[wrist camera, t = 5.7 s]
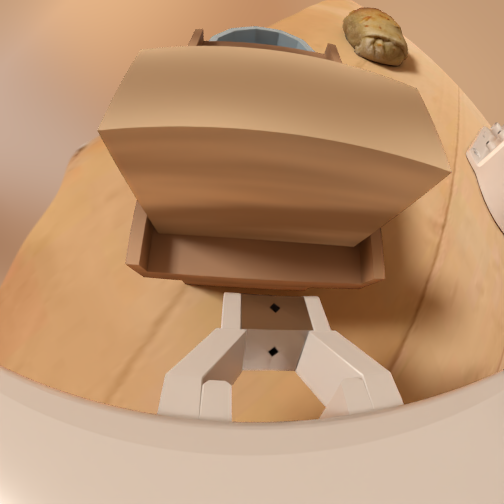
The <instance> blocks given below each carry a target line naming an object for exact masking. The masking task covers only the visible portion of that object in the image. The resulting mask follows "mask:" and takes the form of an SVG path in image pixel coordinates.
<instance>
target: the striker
mask: <svg viewBox="0 0 504 504" xmlns="http://www.w3.org/2000/svg"><path fill="white" fill-rule="evenodd" d="M98 132H99V134H100V136H101V138H102V140H103V142H104V143H105V145H106V147H107V149H108V151H109V153H110V154H111V156H112V158H113V160H114V161H115V163H116V165H117V167H118V168H119V170H120V172H121V174H122V175H123V177H124V179H125V180H126V182H127V184H128V185H129V187H130V189H131V190H132V192H133V194H134V195H135V197H136V199H137V200H138V202H139V204H140V205H141V207H142V208H143V210H144V212H145V213H146V215H147V216H148V218H149V220H150V221H151V223H152V224H153V226H154V227H155V229H156V230H157V232H158V233H160V234H177V235H194V236H210V237H226V238H241V239H256V240H270V241H284V242H298V243H311V244H324V245H337V246H349V247H354V246H356V245H357V244H358V243H360V242H361V241H363V240H364V239H365V238H367V237H368V236H370V235H371V234H372V233H374V232H375V231H377V230H378V229H379V228H381V227H382V226H383V225H385V224H386V223H387V222H389V221H390V220H391V219H393V218H394V217H395V216H397V215H398V214H399V213H401V212H402V211H403V210H405V209H406V208H407V207H409V206H410V205H411V204H413V203H414V202H415V201H416V200H418V199H419V198H420V197H422V196H423V195H424V194H425V193H427V192H428V191H429V190H430V189H432V188H433V187H434V186H435V185H437V184H438V183H439V182H440V181H442V180H443V179H444V178H445V177H447V176H448V175H449V174H450V173H451V172H452V171H451V168H450V165H449V162H448V159H447V156H446V153H445V151H444V148H443V145H442V143H441V140H440V138H439V135H438V133H437V130H436V128H435V125H434V123H433V121H432V119H431V116H430V114H429V112H428V110H427V108H426V106H425V104H424V101H423V99H422V97H421V95H420V93H419V92H418V90H417V88H414V87H412V86H409V85H407V84H404V83H402V82H399V81H397V80H394V79H391V78H388V77H386V76H383V75H380V74H377V73H374V72H371V71H367V70H364V69H361V68H357V67H354V66H350V65H347V64H343V63H339V62H335V61H331V60H326V59H322V58H317V57H312V56H307V55H301V54H296V53H290V52H283V51H276V50H267V49H258V48H246V47H230V46H182V47H181V46H180V47H164V48H152V49H143V50H140V52H139V53H138V55H137V56H136V58H135V60H134V61H133V63H132V65H131V66H130V68H129V70H128V71H127V73H126V75H125V76H124V78H123V80H122V82H121V84H120V85H119V87H118V89H117V91H116V93H115V95H114V97H113V99H112V101H111V103H110V105H109V107H108V109H107V111H106V113H105V115H104V117H103V119H102V121H101V124H100V126H99V128H98Z"/></svg>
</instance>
